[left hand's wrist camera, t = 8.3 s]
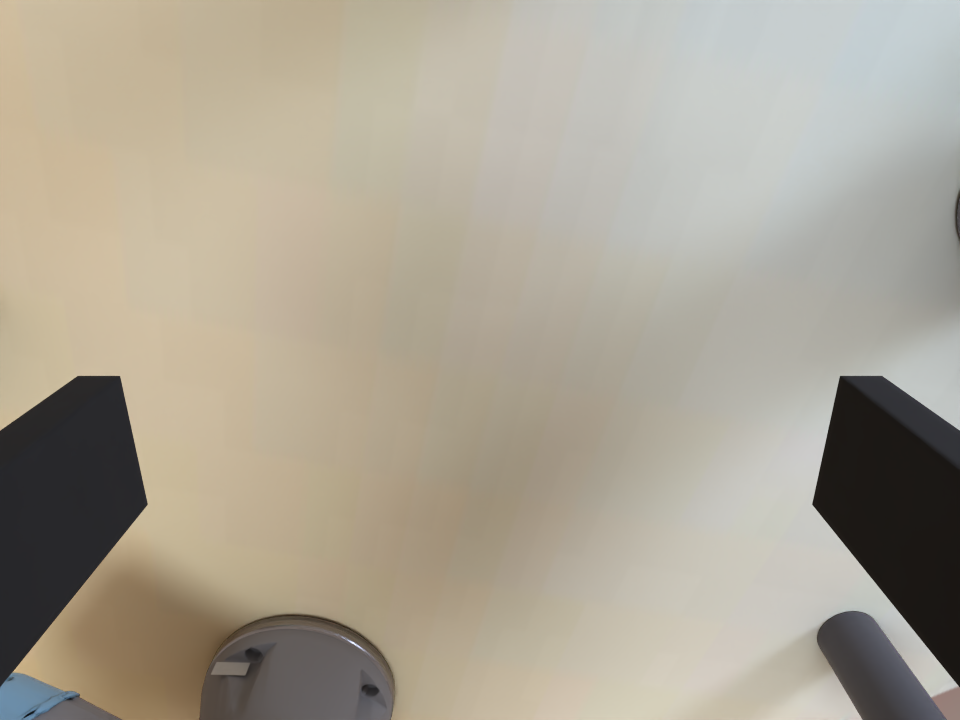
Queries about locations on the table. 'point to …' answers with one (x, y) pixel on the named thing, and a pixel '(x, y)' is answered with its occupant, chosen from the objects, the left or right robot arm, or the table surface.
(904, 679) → the jar
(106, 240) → the table surface
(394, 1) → the table surface
